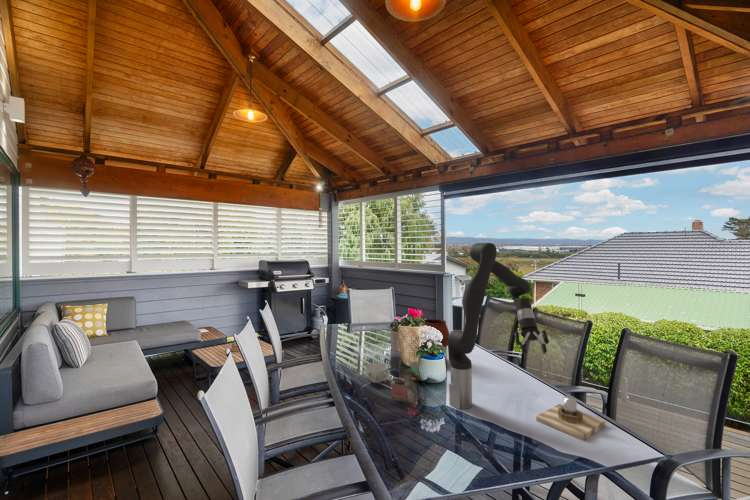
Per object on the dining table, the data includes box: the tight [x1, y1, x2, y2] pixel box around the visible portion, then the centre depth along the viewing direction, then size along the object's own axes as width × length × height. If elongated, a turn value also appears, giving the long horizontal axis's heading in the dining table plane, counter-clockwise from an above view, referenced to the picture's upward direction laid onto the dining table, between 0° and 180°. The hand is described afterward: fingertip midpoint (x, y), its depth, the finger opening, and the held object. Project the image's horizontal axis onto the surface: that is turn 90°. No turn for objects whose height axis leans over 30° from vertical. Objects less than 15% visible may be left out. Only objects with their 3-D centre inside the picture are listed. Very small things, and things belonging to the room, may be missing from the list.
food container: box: [408, 360, 421, 382], centre depth 187 cm, size 12×6×10 cm, turn 117°
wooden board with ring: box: [535, 403, 606, 442], centre depth 140 cm, size 18×18×4 cm
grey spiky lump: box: [364, 361, 389, 384], centre depth 185 cm, size 15×12×8 cm
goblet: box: [422, 318, 450, 349], centre depth 217 cm, size 19×19×25 cm
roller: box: [563, 395, 578, 416], centre depth 140 cm, size 4×4×8 cm
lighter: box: [390, 376, 409, 402], centre depth 164 cm, size 8×3×10 cm, turn 65°
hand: (535, 353), depth 159 cm, fingers open, 8 cm apart
